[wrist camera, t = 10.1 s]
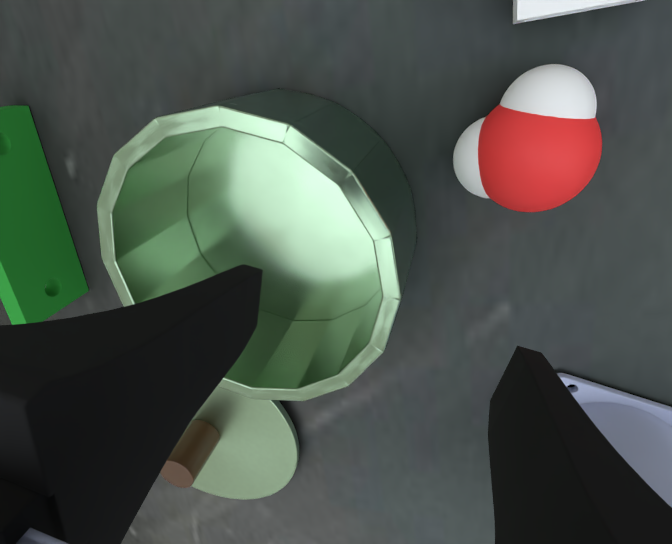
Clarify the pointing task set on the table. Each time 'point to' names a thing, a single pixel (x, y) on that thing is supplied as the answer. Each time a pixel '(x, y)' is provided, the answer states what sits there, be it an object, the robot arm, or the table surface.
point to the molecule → (533, 142)
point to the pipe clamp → (32, 227)
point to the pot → (268, 230)
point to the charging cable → (557, 8)
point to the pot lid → (235, 448)
